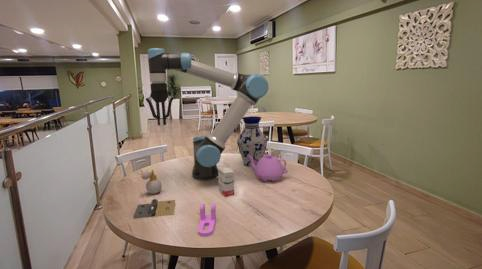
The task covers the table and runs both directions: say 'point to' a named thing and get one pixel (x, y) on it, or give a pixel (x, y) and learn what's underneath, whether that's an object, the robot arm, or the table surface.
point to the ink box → (226, 181)
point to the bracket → (207, 221)
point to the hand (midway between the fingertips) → (162, 131)
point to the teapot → (268, 168)
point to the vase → (251, 141)
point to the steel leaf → (146, 209)
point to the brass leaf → (165, 208)
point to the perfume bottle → (152, 182)
